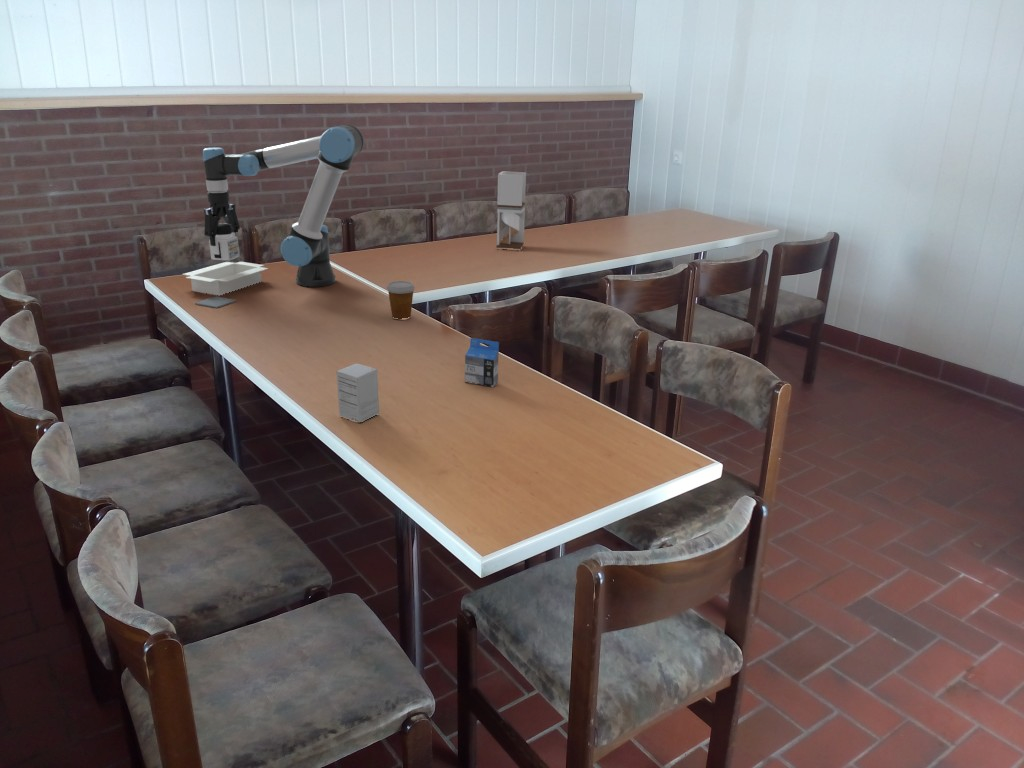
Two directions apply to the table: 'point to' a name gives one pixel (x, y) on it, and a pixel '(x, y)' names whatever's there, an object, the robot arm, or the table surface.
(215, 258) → the container
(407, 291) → the disposable coffee cup
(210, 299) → the mat
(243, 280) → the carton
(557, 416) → the table surface
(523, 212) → the white hollow stand
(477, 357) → the label tape cartridge
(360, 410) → the grey drawer cabinet
